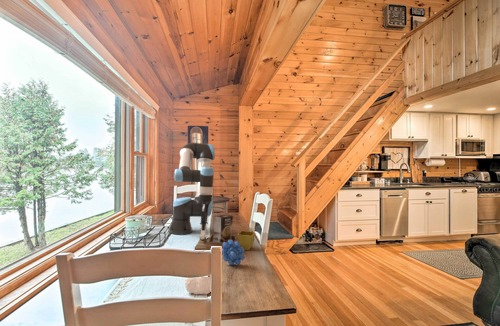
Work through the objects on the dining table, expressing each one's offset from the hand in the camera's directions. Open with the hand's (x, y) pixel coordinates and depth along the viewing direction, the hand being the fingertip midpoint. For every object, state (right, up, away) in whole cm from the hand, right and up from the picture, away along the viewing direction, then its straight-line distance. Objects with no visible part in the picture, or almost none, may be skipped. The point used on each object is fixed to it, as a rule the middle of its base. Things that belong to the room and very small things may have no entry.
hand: (203, 235), depth 140 cm
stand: (+8, -7, +1) cm, 10 cm away
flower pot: (+24, -8, +1) cm, 25 cm away
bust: (+9, -6, -49) cm, 50 cm away
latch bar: (0, -3, +1) cm, 3 cm away
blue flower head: (+18, -7, -24) cm, 31 cm away
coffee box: (+11, -5, +1) cm, 12 cm away
